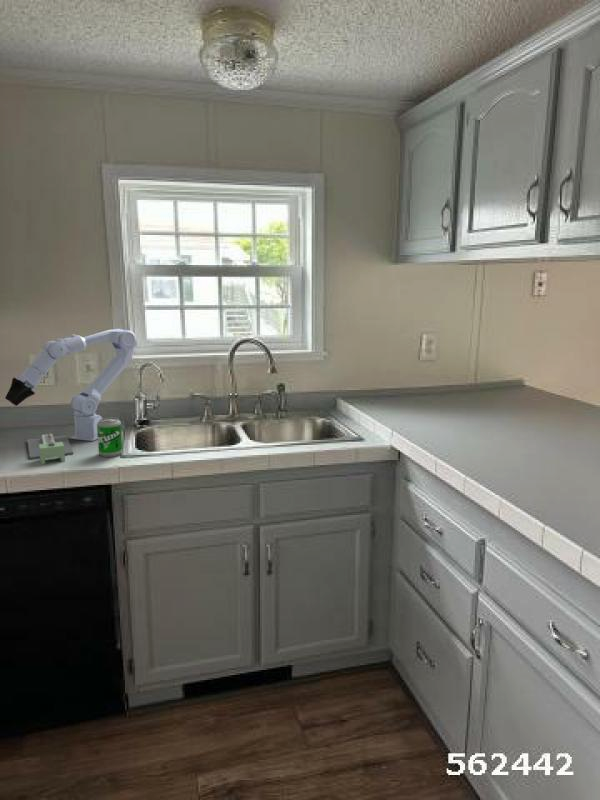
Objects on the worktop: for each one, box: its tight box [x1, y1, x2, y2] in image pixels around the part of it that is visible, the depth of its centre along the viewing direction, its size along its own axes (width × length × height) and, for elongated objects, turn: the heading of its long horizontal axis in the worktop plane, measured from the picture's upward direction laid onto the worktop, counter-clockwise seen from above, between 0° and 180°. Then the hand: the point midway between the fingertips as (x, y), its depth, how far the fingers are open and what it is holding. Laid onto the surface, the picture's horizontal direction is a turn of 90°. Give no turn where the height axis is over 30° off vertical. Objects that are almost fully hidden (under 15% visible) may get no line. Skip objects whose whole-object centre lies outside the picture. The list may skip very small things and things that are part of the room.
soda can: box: [97, 417, 123, 458], centre depth 182 cm, size 8×8×12 cm
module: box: [39, 442, 66, 465], centre depth 176 cm, size 7×5×6 cm
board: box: [26, 433, 74, 460], centre depth 189 cm, size 13×22×2 cm, turn 28°
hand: (10, 402), depth 183 cm, fingers open, 7 cm apart
